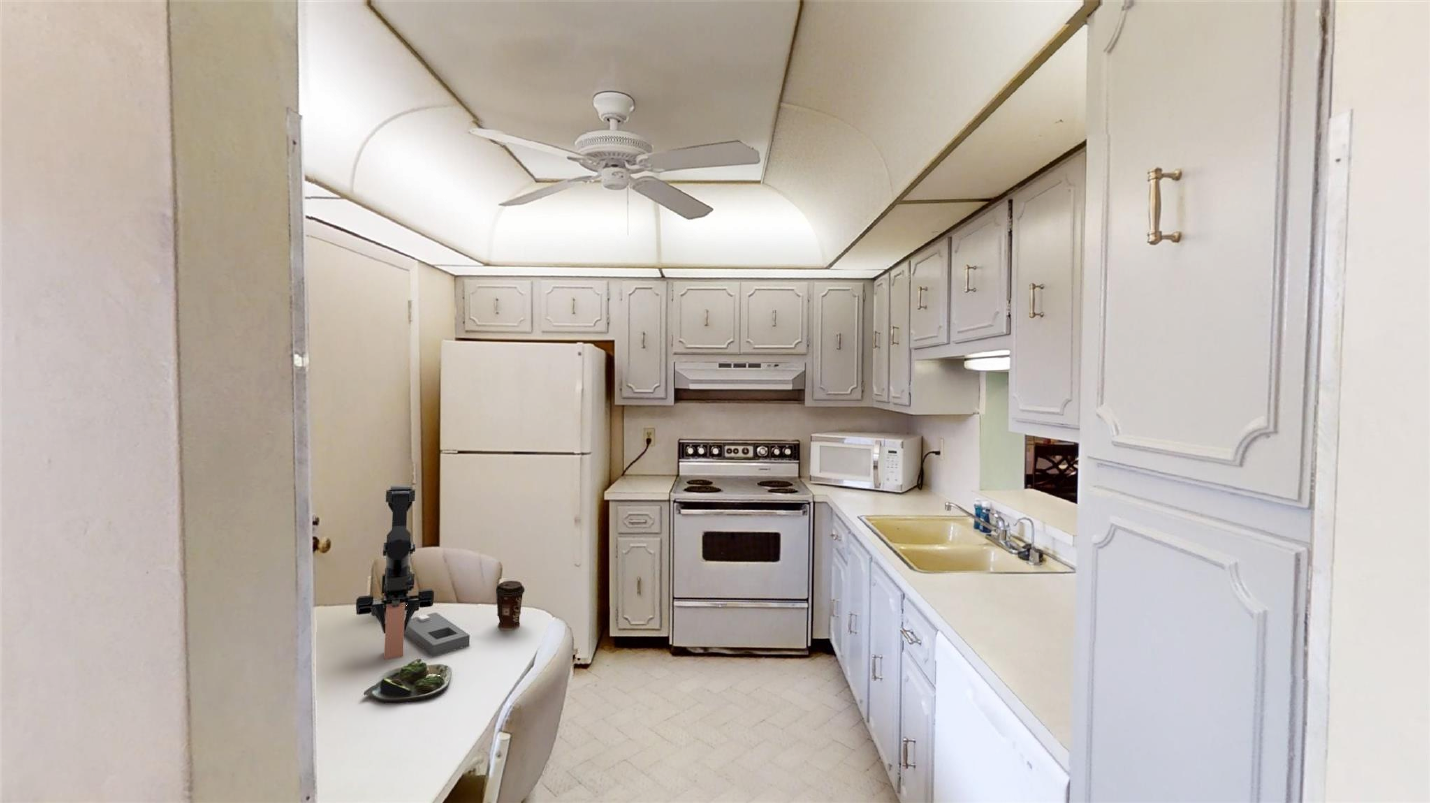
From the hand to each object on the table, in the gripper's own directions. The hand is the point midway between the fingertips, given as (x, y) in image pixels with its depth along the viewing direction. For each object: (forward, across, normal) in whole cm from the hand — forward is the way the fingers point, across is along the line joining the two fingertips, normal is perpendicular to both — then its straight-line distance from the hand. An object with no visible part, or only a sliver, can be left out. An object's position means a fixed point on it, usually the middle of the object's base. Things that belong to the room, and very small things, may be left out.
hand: (394, 631), depth 157 cm
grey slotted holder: (-1, +10, +10) cm, 15 cm away
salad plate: (+18, +4, -8) cm, 21 cm away
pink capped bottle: (+4, 0, +6) cm, 7 cm away
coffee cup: (-2, +31, +12) cm, 33 cm away
